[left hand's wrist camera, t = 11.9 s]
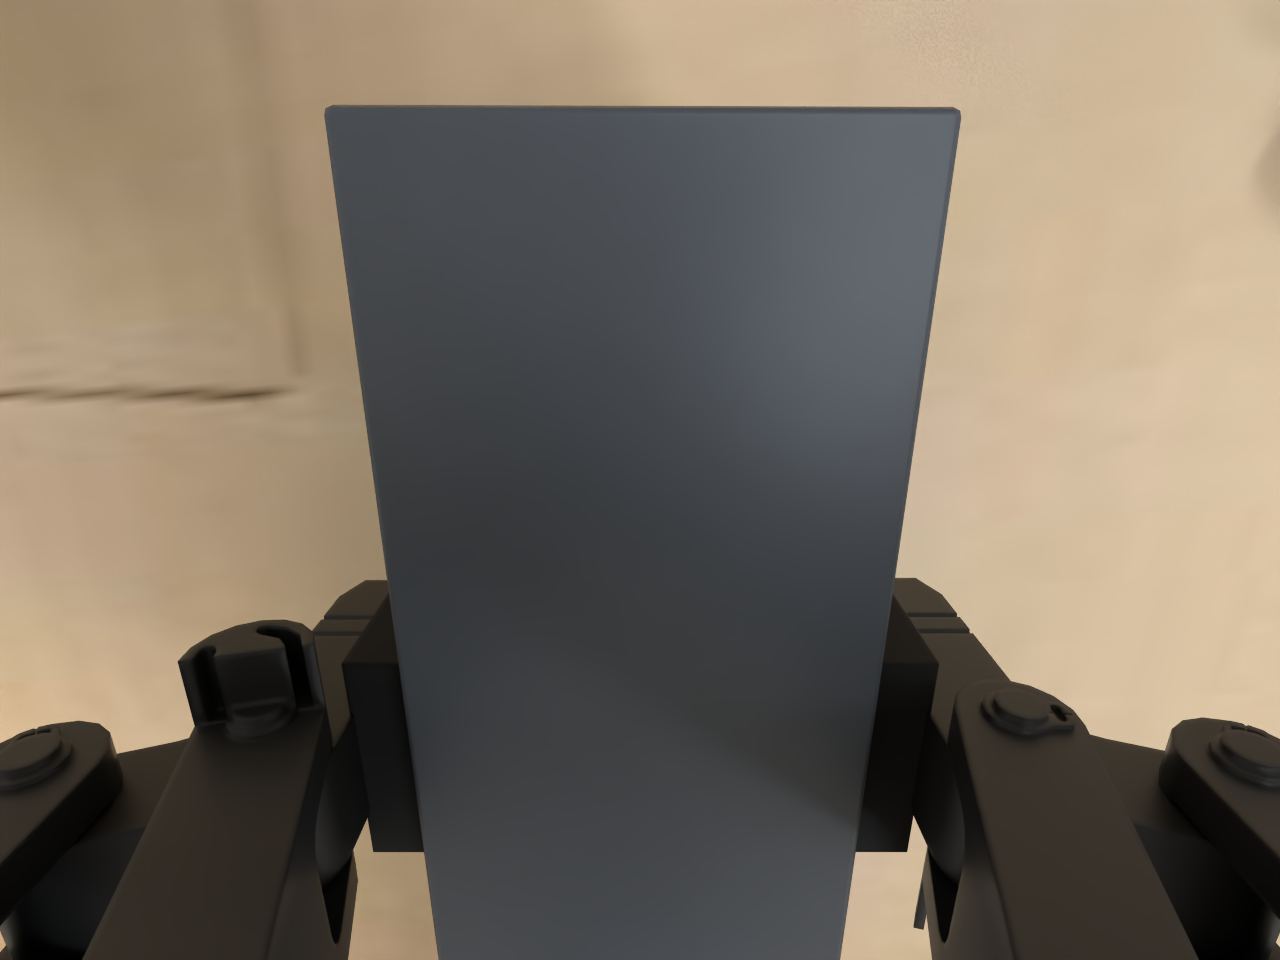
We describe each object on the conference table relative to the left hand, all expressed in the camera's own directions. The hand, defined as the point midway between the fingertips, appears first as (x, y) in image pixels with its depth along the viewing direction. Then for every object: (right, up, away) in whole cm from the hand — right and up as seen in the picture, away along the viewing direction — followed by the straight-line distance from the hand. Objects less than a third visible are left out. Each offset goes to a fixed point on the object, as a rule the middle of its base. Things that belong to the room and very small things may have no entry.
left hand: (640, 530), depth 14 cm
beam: (0, -18, +7) cm, 19 cm away
